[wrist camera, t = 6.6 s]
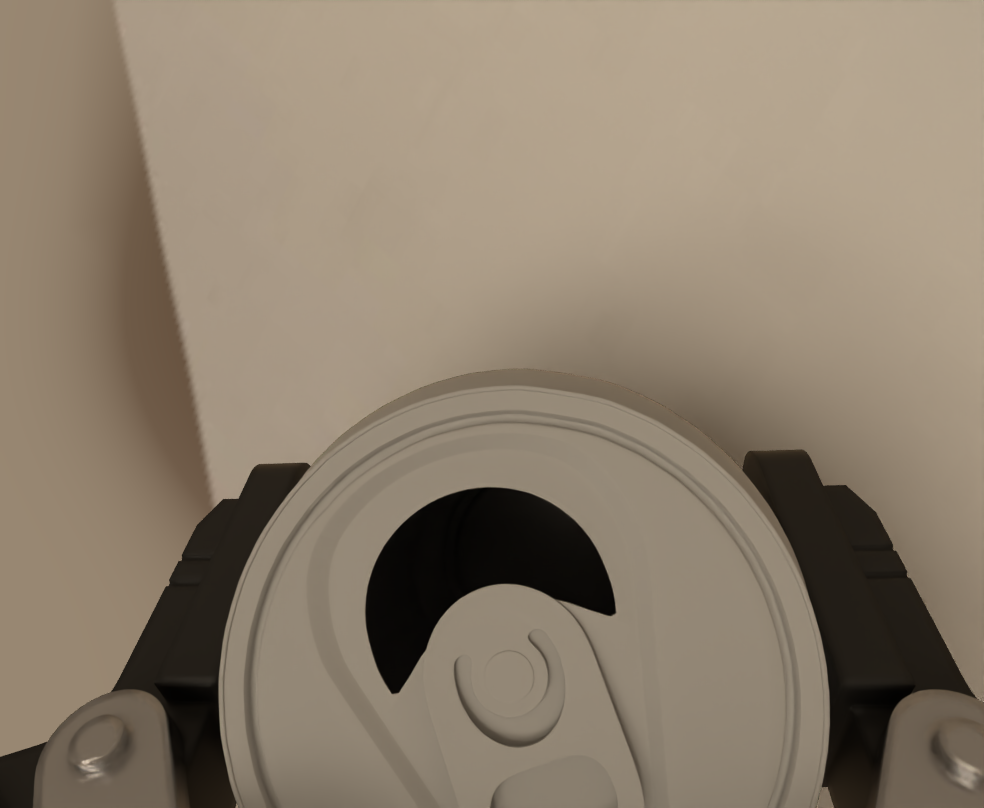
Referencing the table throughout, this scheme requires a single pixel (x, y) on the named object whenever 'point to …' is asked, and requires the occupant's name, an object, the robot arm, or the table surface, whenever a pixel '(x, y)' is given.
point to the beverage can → (523, 616)
